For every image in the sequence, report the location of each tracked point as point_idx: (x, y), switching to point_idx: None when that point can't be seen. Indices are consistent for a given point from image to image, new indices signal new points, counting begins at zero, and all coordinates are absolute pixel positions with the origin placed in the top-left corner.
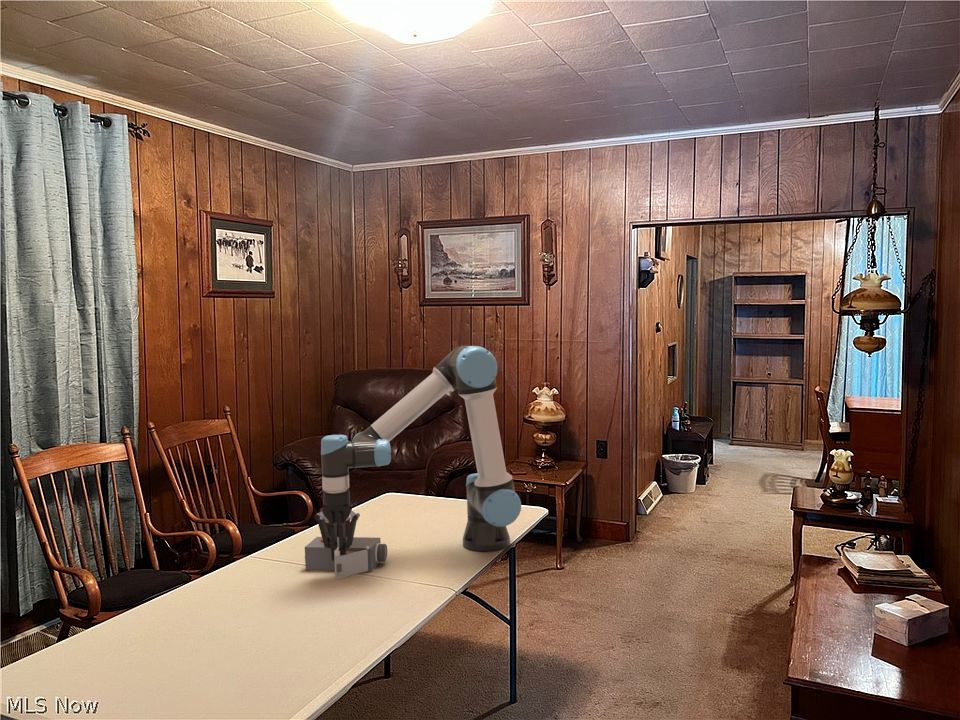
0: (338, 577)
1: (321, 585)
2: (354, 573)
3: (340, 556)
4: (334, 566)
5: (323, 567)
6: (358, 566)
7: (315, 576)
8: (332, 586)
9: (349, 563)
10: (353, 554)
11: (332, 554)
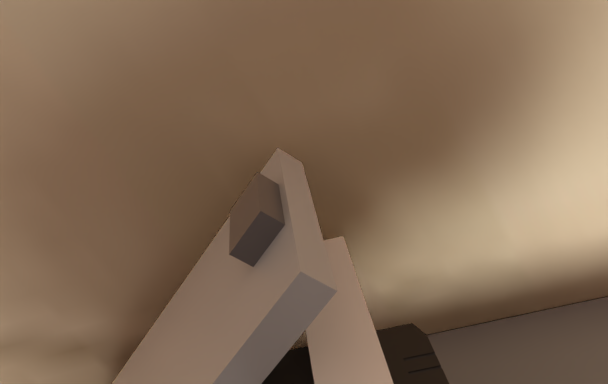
0: (265, 170)
1: (379, 8)
2: (172, 301)
3: (260, 339)
4: None
5: (527, 335)
6: (142, 373)
7: (537, 199)
8: (249, 12)
9: (188, 339)
10: None
11: (430, 380)
